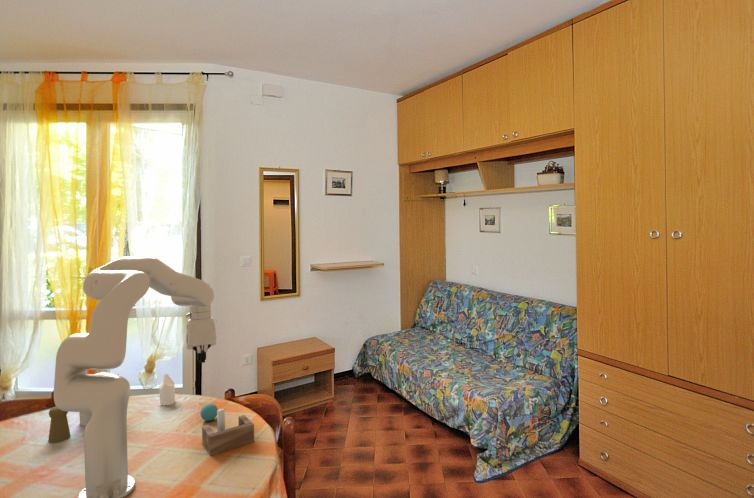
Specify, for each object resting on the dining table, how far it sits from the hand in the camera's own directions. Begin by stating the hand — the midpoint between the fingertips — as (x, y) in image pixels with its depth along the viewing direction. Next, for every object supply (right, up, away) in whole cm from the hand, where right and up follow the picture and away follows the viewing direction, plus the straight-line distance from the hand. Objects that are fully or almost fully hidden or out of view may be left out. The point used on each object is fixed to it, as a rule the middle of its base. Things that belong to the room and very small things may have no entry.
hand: (201, 361), depth 160 cm
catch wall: (+19, -20, -24) cm, 37 cm away
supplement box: (-34, -20, -8) cm, 40 cm away
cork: (-39, -21, -21) cm, 49 cm away
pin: (+14, -20, -18) cm, 31 cm away
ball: (+6, -17, -7) cm, 19 cm away
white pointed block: (-18, -19, +9) cm, 28 cm away
